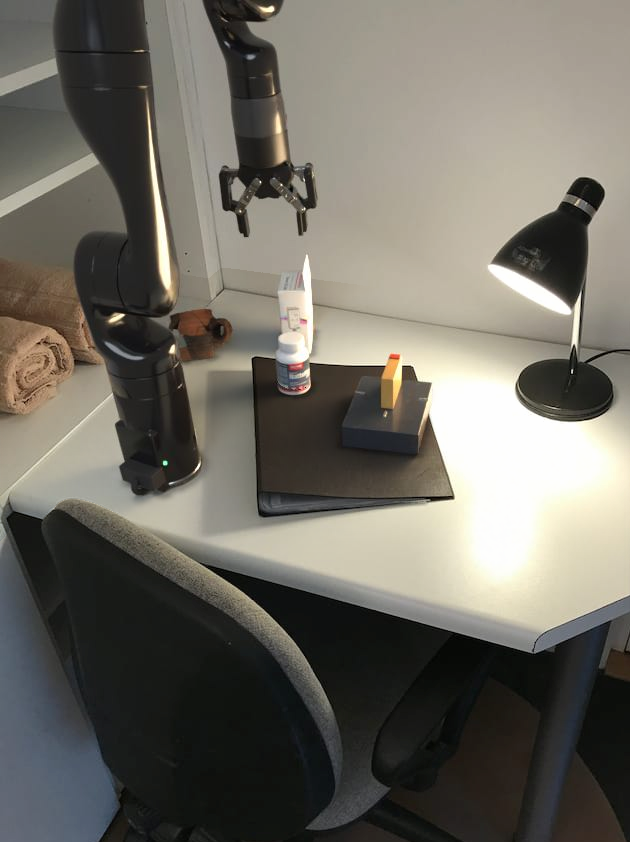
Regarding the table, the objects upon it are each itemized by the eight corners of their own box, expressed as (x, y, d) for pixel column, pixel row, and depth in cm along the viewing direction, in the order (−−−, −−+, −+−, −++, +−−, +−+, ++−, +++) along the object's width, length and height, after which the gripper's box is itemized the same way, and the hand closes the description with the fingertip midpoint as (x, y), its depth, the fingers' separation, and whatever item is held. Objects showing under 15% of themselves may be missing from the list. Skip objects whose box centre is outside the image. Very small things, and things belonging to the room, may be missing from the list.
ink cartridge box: (286, 331, 136) (279, 252, 127) (314, 331, 136) (309, 252, 127) (282, 355, 130) (274, 273, 120) (311, 354, 130) (305, 273, 120)
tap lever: (393, 409, 110) (393, 378, 106) (380, 408, 110) (380, 377, 107) (401, 384, 115) (401, 353, 112) (389, 383, 115) (389, 352, 112)
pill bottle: (291, 399, 119) (286, 350, 113) (271, 386, 122) (266, 337, 116) (317, 387, 121) (314, 338, 116) (297, 375, 124) (293, 326, 119)
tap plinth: (418, 454, 107) (419, 433, 105) (341, 446, 109) (340, 425, 107) (432, 399, 118) (433, 379, 116) (362, 392, 120) (362, 372, 118)
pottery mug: (164, 365, 128) (154, 316, 127) (190, 362, 137) (181, 316, 136) (227, 353, 125) (217, 303, 124) (250, 351, 134) (241, 304, 133)
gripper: (205, 137, 104) (225, 247, 115) (308, 133, 103) (318, 244, 114) (214, 118, 109) (232, 225, 120) (312, 114, 109) (321, 222, 120)
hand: (274, 234), depth 117 cm, fingers open, 8 cm apart
